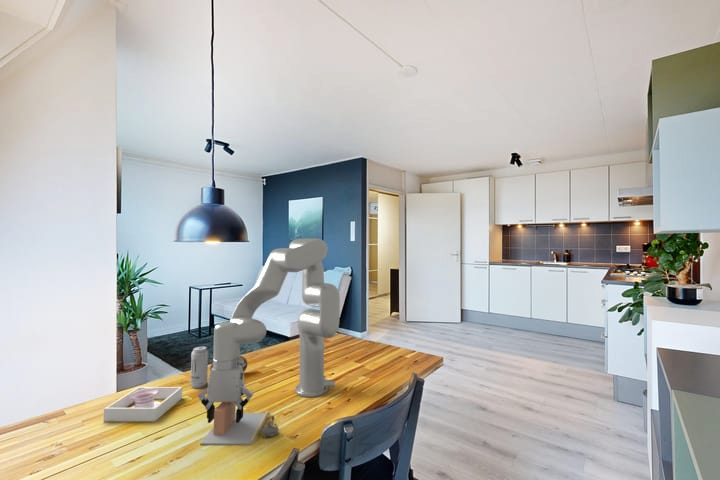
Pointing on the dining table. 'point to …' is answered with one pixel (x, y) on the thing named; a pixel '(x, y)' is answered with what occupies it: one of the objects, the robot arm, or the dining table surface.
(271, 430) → the figurine
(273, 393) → the dining table surface
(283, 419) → the dining table surface
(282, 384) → the dining table surface
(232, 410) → the block
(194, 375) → the energy drink can
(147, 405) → the teacup
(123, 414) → the rectangular tray
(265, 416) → the mat
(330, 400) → the dining table surface
